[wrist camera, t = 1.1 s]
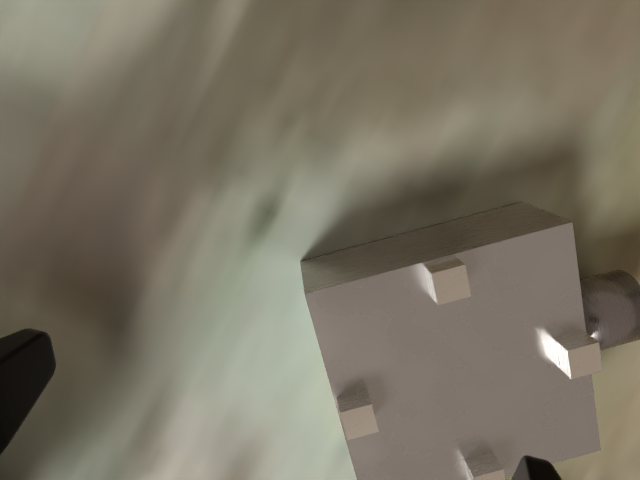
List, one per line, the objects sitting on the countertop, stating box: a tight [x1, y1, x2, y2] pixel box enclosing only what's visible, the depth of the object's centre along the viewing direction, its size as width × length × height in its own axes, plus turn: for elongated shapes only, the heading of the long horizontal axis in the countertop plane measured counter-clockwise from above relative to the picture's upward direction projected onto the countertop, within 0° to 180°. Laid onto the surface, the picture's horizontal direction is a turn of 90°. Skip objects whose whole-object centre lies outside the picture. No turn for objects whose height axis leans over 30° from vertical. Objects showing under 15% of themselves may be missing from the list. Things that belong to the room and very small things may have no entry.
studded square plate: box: [300, 202, 640, 480], centre depth 21 cm, size 13×10×5 cm
